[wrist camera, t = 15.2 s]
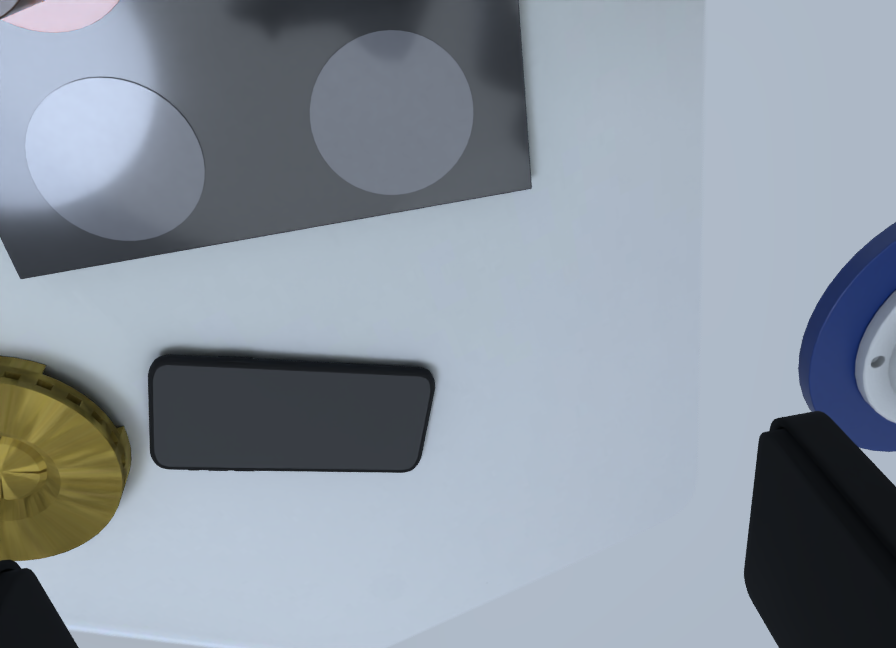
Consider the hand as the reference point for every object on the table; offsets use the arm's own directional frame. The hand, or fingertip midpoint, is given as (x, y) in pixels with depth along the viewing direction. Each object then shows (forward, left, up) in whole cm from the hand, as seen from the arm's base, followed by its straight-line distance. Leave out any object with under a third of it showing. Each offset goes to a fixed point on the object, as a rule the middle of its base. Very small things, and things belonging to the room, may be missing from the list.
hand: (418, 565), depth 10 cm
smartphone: (+6, +17, -27) cm, 33 cm away
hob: (+4, -3, -27) cm, 28 cm away
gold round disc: (+21, +16, -28) cm, 38 cm away
